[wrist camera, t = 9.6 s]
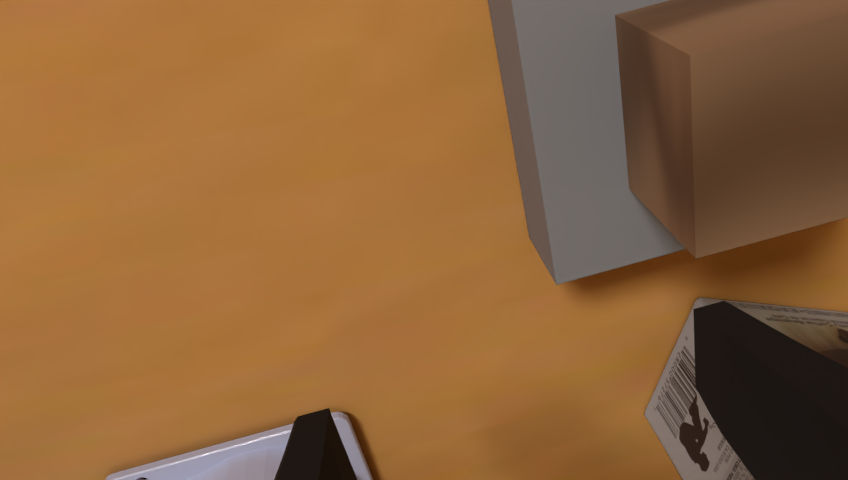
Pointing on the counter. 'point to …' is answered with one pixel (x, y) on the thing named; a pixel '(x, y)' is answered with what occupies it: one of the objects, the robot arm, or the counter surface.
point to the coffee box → (684, 408)
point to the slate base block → (573, 135)
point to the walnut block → (736, 116)
